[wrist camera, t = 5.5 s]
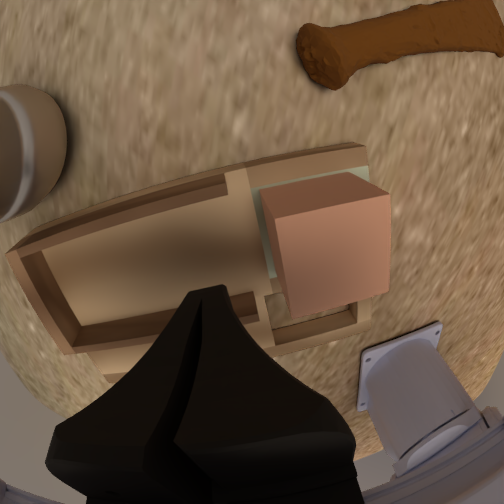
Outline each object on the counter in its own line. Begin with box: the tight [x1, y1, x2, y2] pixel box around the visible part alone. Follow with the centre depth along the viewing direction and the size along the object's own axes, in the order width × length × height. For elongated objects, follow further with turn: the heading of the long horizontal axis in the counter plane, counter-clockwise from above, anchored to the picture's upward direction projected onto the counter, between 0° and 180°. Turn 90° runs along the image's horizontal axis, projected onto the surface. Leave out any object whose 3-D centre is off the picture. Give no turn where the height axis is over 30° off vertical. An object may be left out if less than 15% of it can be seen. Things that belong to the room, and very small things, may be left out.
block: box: [259, 172, 391, 319], centre depth 13 cm, size 4×4×4 cm
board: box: [5, 142, 372, 383], centre depth 16 cm, size 12×19×4 cm, turn 102°
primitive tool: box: [296, 0, 504, 91], centre depth 11 cm, size 19×6×4 cm, turn 120°
